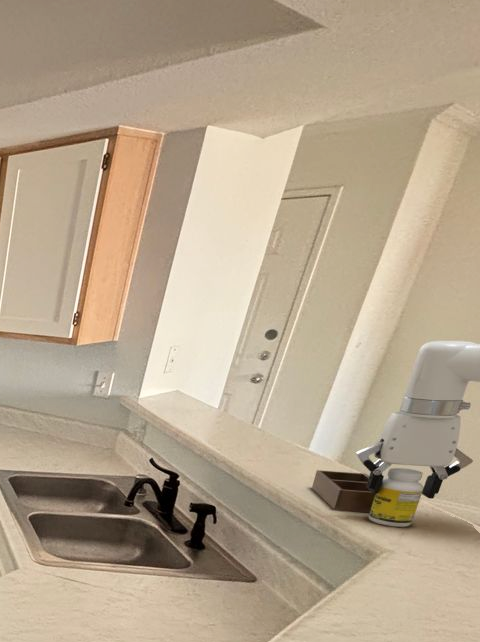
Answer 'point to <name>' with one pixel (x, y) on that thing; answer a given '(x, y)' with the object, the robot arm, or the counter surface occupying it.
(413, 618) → the counter surface
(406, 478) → the pill bottle
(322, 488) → the divided box
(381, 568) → the counter surface
